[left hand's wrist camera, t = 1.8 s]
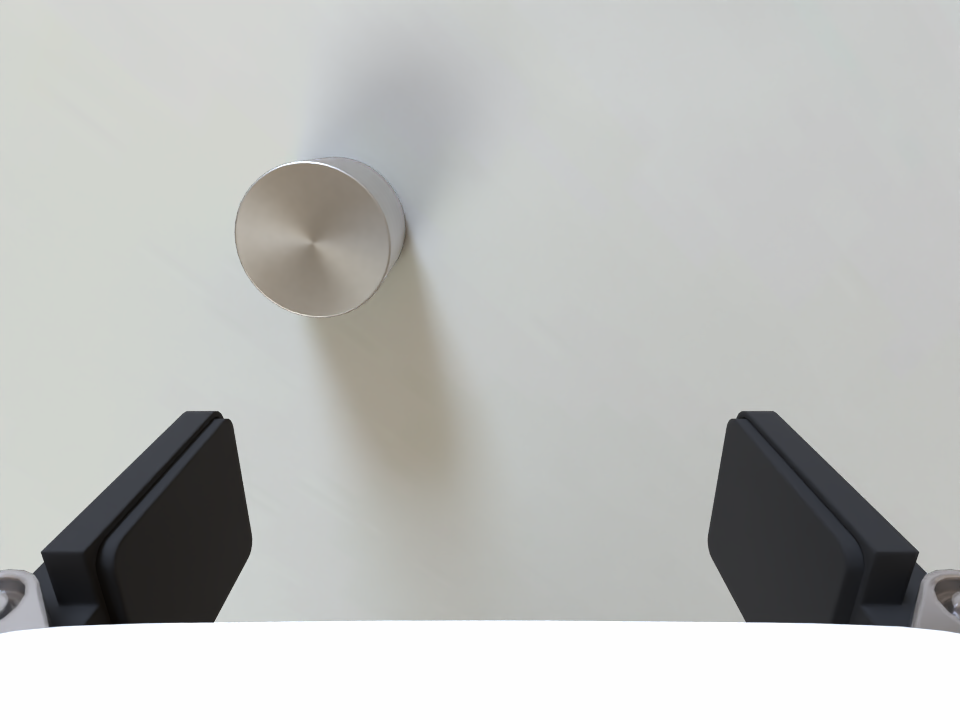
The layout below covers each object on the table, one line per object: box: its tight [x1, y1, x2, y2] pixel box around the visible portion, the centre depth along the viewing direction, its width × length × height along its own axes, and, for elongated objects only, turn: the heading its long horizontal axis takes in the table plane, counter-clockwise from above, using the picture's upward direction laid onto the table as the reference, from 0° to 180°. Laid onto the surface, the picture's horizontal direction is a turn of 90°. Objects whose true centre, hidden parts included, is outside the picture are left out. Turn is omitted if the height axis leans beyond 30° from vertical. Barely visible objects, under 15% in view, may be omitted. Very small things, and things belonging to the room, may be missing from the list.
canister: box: [235, 157, 405, 318], centre depth 20 cm, size 5×5×4 cm
